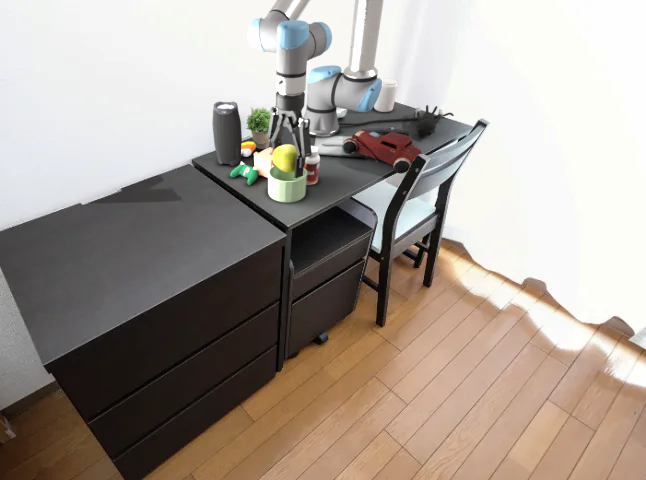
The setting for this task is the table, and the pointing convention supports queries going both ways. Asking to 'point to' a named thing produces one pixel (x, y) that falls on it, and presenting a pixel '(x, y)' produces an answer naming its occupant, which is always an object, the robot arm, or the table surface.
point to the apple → (285, 157)
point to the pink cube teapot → (263, 161)
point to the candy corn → (247, 148)
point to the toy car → (384, 148)
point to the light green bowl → (286, 185)
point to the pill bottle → (312, 166)
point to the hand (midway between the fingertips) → (287, 170)
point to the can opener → (387, 131)
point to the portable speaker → (227, 132)
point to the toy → (427, 121)
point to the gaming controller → (246, 172)
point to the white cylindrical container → (386, 95)
